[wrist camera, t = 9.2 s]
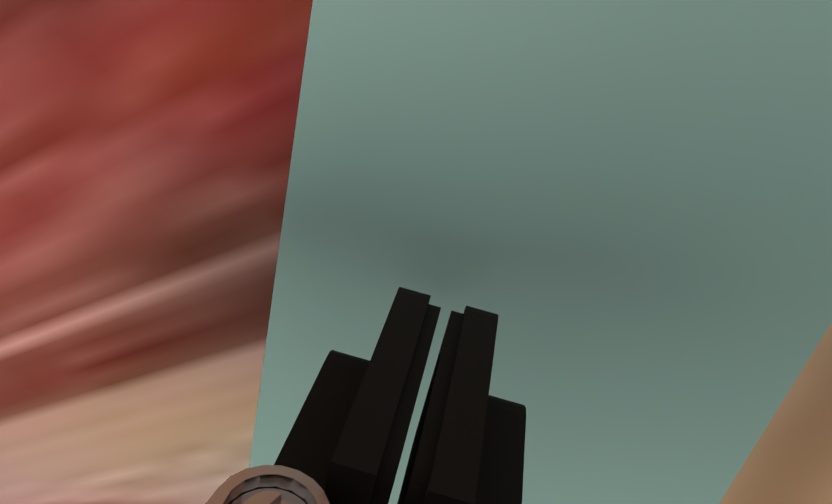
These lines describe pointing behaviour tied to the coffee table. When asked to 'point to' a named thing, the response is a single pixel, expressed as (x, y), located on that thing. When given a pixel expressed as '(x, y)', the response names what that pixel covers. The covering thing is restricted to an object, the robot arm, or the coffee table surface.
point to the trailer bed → (794, 443)
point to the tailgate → (569, 221)
